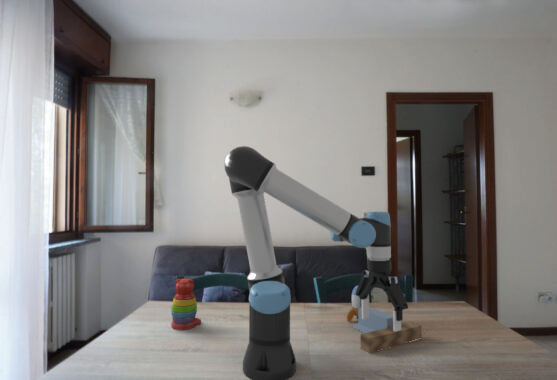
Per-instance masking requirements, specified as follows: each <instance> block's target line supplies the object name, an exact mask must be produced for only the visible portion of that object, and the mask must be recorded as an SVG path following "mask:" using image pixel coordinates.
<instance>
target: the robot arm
mask: <svg viewBox="0 0 557 380" xmlns="http://www.w3.org/2000/svg"><path fill="white" fill-rule="evenodd" d="M224 171H225V174H226V176H227V177H228V180H229V185H230V191H231V192H230V193H231V195H232V196H233V197H234V198H236V199H237V203H238V208H239V214H240V220H241V221H240V222H241V224H242V225H241V226H242V231H243V236H244V240H245V246H246V247H245V248H246V252H247V258H248V263H249V270H250V271H249V274H248V275H247V279H246V280H247V284H248V289H249V290H248V292H249V295H248V302H249V303H248V304H249V307H248V308H249V309H248V310H249V313H248V314H249V315H248V316H249V317H248V318H249V319H248V323H249V328H248V329H249V331H248V333H249V334H248V335H249V336H248V344H247V346H246V350H245V352H244V355H243V360H242V372H243V374H244V375H245V376H246V377H247V378H250V379H251V380H287V379H288V378H291V377H292V376H293V375H294V374H295V373H296V372H297V359H296V355H295V352H294V350H293V347H292V343H291V301H292V296H291V289H290V287H289V286H288V285H287V284H285V278H284V274H283V270H282V269H281V268H280V267H278V265H277V261H276V255H275V250H274V245H273V240H272V239H273V238H272V233H271V228H270V223H269V221H270V220H269V217H268V212H267V205H266V201H265V200H266V199H265V194H268V195H269V196H271V197H272V198H274V199H275V200H277V201H278V202H281V203H282V204H283V205H286V206H287V207H289V208H290V209H293V210H294V211H296V212H297V213H299V214H301V215H302V216H304V217H305V218H307V219H309V220H311V221H313V222H314V223H316V224H317V225H319V226H321V227H323V228H324V229H326V230H327V231H329V234H330V238H331V240H332V242H340V243H342V242H347V243H348V244H350V245H353V246H354V247H356V248H360V249H366V251H367V252H366V253H367V254H366V257H367V258H368V259H367V270H366V269H365V270H362V271H361V277H360V280H359V283H358V285H357V286H358V288H357V291H356V296H359V298H360V304H361V305H360V306H361V308H362V319H367V318H369V307H370V298H369V299H368V295H369V296H370V293H371V292H372V291H373V290H374V288H378V289H381V290H383V292H384V293H385V294H386V296H387V297H388V299H389V301H390V303H391V304H392V306H393V308H394V309H393V310H392V315H393V331H395V332H396V331H400V330H401V325H402V321H403V317H404V316H403V315H404V314H403V310H407V309H409V305H408V302H407V299H406V298H405V295H404V292H403V290H402V286H401V285H400V278H399V276H397V275H396V276H391V272H392V260H391V258H392V253H391V252H392V247H391V245H392V244H391V240H392V239H391V235H392V234H391V233H392V232H391V227H392V225H391V217H390V213H389V212H388V211H367V212H366V216H365V217H362V218H361V217H360V218H359V217H358V216H356V215H354V214H352V213H351V212H349V211H347V210H345V209H344V208H342V206H339V205H337V204H336V203H334V202H333V201H331V200H330V199H328V198H326V197H324V196H323V195H320V194H319V193H317V192H316V191H314V190H313V189H311V188H309V187H307V186H306V185H304V184H303V183H301V182H299V181H298V180H296V179H294V178H292V177H291V176H289V175H287V174H286V173H284V172H283V171H281V170H279V169H278V168H277V164H276V163H275V162H273V161H271V160H269V159H268V158H267V157H265V156H264V155H262V154H261V153H260V152H258V151H257V150H256V149H255V148H253V147H250V146H246V145H245V146H243V145H242V146H238V147H234V148H233V149H232V150H230V151H229V152H228V153H227V155H226V157H225V159H224ZM366 298H367V299H366Z"/></svg>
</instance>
